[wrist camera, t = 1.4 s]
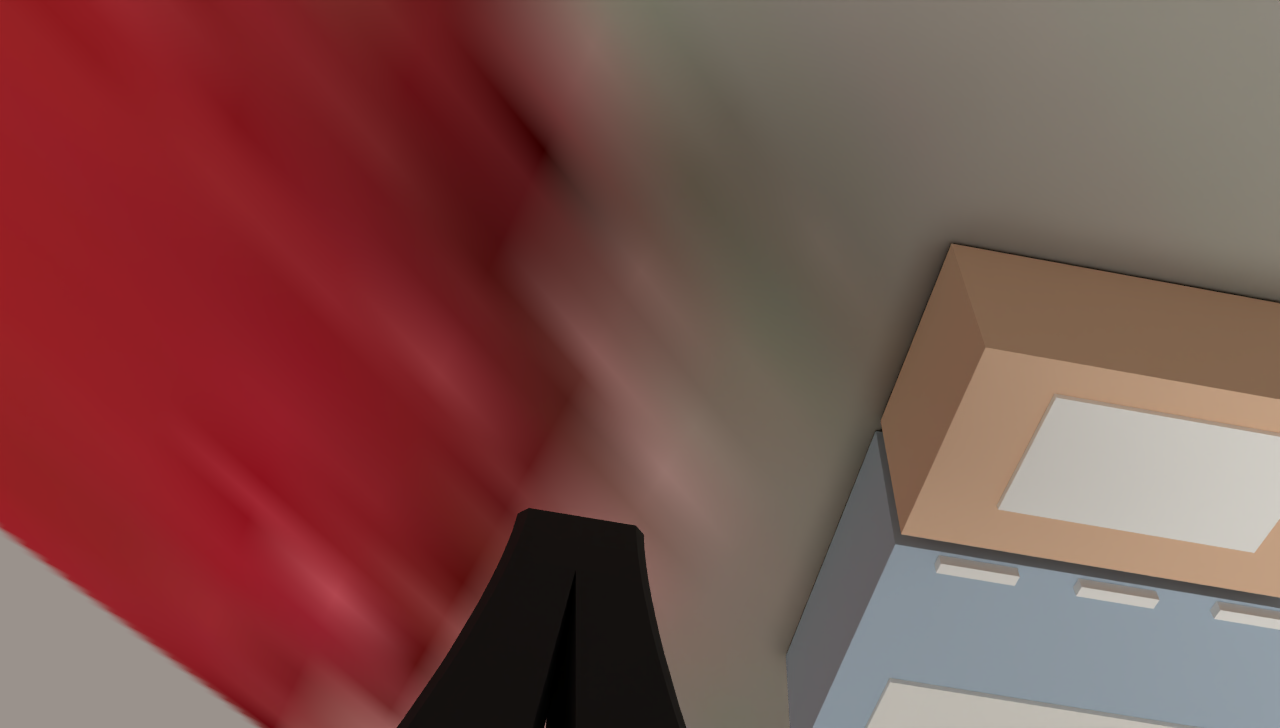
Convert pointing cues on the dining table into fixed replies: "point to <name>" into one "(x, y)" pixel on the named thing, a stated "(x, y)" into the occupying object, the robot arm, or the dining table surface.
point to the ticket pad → (1017, 637)
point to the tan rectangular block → (1092, 421)
